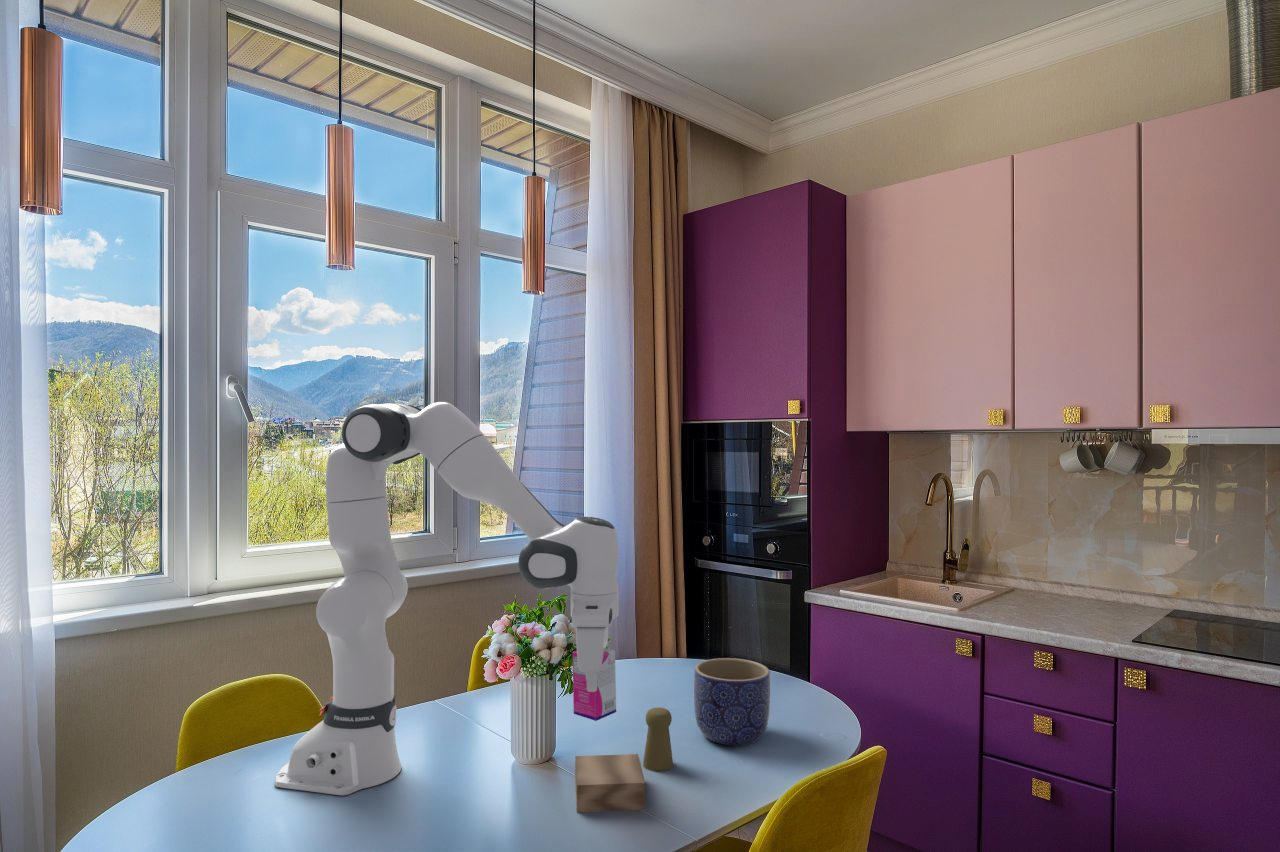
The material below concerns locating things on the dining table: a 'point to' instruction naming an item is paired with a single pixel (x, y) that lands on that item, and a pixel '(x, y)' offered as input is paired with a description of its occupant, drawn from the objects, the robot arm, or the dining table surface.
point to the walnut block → (609, 783)
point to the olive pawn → (658, 740)
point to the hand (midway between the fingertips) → (594, 682)
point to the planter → (732, 700)
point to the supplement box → (605, 696)
